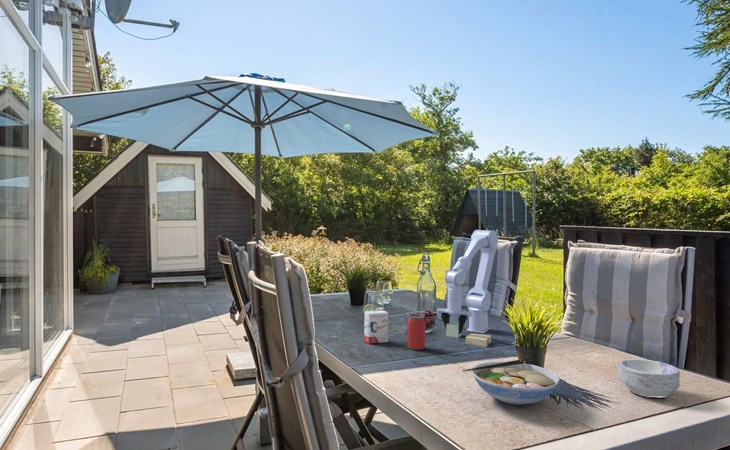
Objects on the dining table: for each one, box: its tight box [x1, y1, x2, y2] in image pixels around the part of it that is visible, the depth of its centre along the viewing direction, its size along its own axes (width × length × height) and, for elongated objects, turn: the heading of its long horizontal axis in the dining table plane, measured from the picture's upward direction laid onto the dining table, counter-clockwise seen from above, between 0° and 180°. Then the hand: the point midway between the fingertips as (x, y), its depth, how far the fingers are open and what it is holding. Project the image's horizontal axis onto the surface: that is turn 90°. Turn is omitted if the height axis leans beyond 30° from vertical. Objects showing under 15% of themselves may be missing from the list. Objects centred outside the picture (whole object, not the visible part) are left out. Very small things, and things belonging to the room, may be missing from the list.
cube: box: [445, 321, 463, 339], centre depth 202 cm, size 5×5×5 cm
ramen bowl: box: [461, 357, 561, 406], centre depth 132 cm, size 25×23×8 cm
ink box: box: [363, 310, 389, 345], centre depth 190 cm, size 9×5×12 cm, turn 113°
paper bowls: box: [617, 358, 681, 397], centre depth 139 cm, size 15×15×8 cm
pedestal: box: [464, 332, 492, 348], centre depth 191 cm, size 8×8×3 cm
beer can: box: [407, 314, 427, 351], centre depth 182 cm, size 7×7×12 cm
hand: (453, 332), depth 202 cm, fingers closed on cube, 5 cm apart
